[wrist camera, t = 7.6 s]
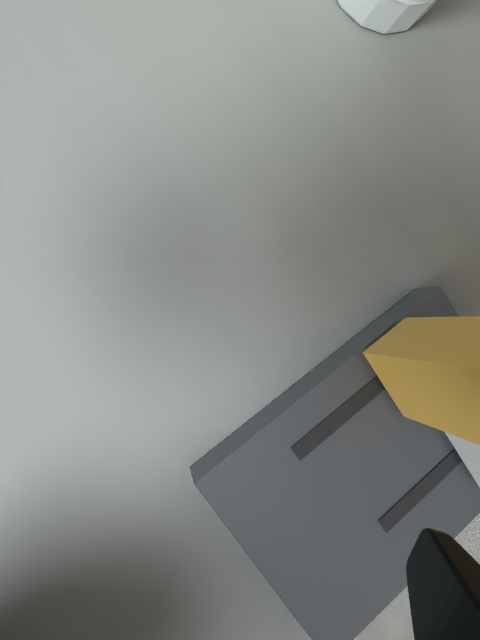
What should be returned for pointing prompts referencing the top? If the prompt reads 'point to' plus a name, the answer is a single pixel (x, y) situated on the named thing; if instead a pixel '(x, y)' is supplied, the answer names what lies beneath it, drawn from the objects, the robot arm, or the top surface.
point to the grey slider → (468, 454)
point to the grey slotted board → (339, 485)
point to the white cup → (386, 13)
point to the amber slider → (433, 371)
